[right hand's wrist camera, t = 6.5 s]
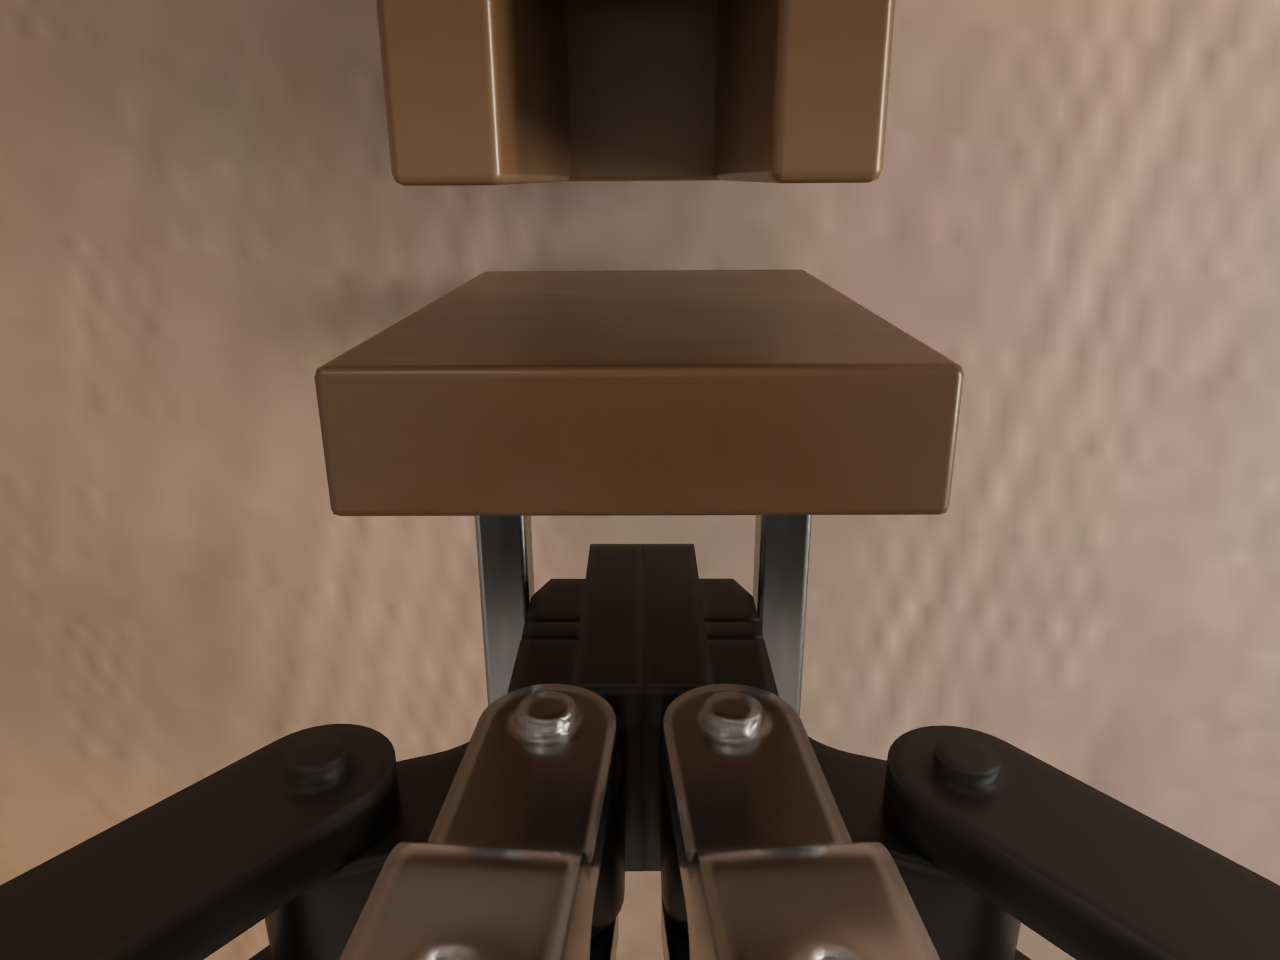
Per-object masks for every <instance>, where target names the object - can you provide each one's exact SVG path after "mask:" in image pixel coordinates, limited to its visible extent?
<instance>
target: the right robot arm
mask: <svg viewBox="0 0 1280 960" xmlns="http://www.w3.org/2000/svg"><path fill="white" fill-rule="evenodd" d="M625 871H661V889H662V914H661V937H662V946H663V954H664V960H1031V959H1029V958H1028V957H1027V956H1025V955H1024V954H1022V953H1021V952H1019V951H1018V950H1017V949H1016V946H1017V940H1018V935H1019V930H1020V925H1021V922H1022V923H1023V924H1025V925H1026V926H1027V927H1029V928H1030V929H1032V930H1033V931H1035V932H1036V933H1038V934H1039V935H1041V936H1042V937H1044V938H1045V939H1047V940H1048V941H1050V942H1051V943H1053V944H1054V945H1056V946H1057V947H1058V948H1060V949H1061V950H1063V951H1064V952H1066V953H1067V954H1069V955H1070V956H1072V957H1073V958H1075V959H1076V960H1280V886H1279V885H1277V884H1275V883H1274V882H1272V881H1270V880H1268V879H1266V878H1264V877H1262V876H1260V875H1258V874H1256V873H1255V872H1253V871H1251V870H1249V869H1247V868H1245V867H1243V866H1241V865H1239V864H1237V863H1235V862H1234V861H1232V860H1230V859H1228V858H1226V857H1224V856H1222V855H1220V854H1218V853H1216V852H1215V851H1213V850H1211V849H1209V848H1207V847H1205V846H1203V845H1201V844H1199V843H1197V842H1195V841H1194V840H1192V839H1190V838H1188V837H1186V836H1184V835H1182V834H1180V833H1178V832H1176V831H1175V830H1173V829H1171V828H1169V827H1167V826H1165V825H1163V824H1161V823H1159V822H1157V821H1156V820H1154V819H1152V818H1150V817H1148V816H1146V815H1144V814H1142V813H1140V812H1138V811H1136V810H1135V809H1133V808H1131V807H1129V806H1127V805H1125V804H1123V803H1121V802H1119V801H1117V800H1116V799H1114V798H1112V797H1110V796H1108V795H1106V794H1104V793H1102V792H1100V791H1098V790H1097V789H1095V788H1093V787H1091V786H1089V785H1087V784H1085V783H1083V782H1081V781H1079V780H1077V779H1076V778H1074V777H1072V776H1070V775H1068V774H1066V773H1064V772H1062V771H1060V770H1058V769H1057V768H1055V767H1053V766H1051V765H1049V764H1047V763H1045V762H1043V761H1041V760H1039V759H1037V758H1036V757H1034V756H1032V755H1030V754H1028V753H1026V752H1024V751H1022V750H1020V749H1018V748H1017V747H1015V746H1013V745H1011V744H1009V743H1007V742H1005V741H1003V740H1001V739H999V738H996V737H994V736H992V735H989V734H986V733H983V732H980V731H976V730H972V729H968V728H962V727H956V726H929V727H922V728H918V729H915V730H911V731H909V732H907V733H905V734H903V735H901V736H900V737H899V738H898V739H896V740H895V741H894V743H893V744H892V745H891V747H890V750H889V752H888V759H887V761H885V760H880V759H876V758H871V757H866V756H861V755H857V754H852V753H848V752H844V751H840V750H837V749H834V748H831V747H828V746H826V745H824V744H821V743H819V742H817V741H815V740H813V739H812V738H810V737H808V736H807V733H806V731H805V729H804V726H803V724H802V721H801V719H800V717H799V715H798V714H797V712H796V711H795V710H794V709H793V707H792V706H791V705H790V704H788V703H787V702H786V701H785V700H783V699H781V698H780V697H779V695H778V691H777V687H776V683H775V679H774V675H773V671H772V668H771V664H770V660H769V656H768V652H767V648H766V645H765V641H764V640H763V633H762V629H761V625H760V622H759V618H758V614H757V610H756V606H755V602H754V598H753V596H752V595H750V594H749V593H748V592H747V591H746V590H745V589H744V588H743V587H741V586H740V585H739V584H738V583H737V582H736V581H735V580H734V579H699V577H698V570H697V563H696V556H695V549H694V544H591V545H590V551H589V558H588V566H587V574H586V579H551V580H550V581H548V582H547V583H546V584H545V585H544V586H543V587H542V588H541V589H540V590H538V591H537V592H536V593H535V594H534V595H533V596H532V597H531V600H530V604H529V608H528V612H527V616H526V622H525V624H524V628H523V632H522V640H520V644H519V648H518V652H517V656H516V660H515V664H514V668H513V672H512V676H511V680H510V684H509V688H508V692H507V694H505V695H503V696H502V697H500V698H498V699H496V700H495V701H494V702H493V703H491V704H490V705H489V706H488V707H487V708H486V709H485V710H484V712H483V713H482V715H481V717H480V718H479V721H478V723H477V725H476V728H475V730H474V732H473V735H472V737H471V740H470V742H467V743H465V744H463V745H461V746H459V747H456V748H453V749H450V750H447V751H444V752H440V753H436V754H431V755H427V756H422V757H417V758H412V759H408V760H403V761H398V762H396V757H395V750H394V748H393V745H392V743H391V742H390V741H389V740H388V738H387V737H385V736H384V735H383V734H381V733H380V732H378V731H376V730H374V729H371V728H368V727H364V726H360V725H353V724H330V725H322V726H316V727H312V728H308V729H304V730H300V731H298V732H295V733H292V734H289V735H287V736H285V737H283V738H281V739H278V740H276V741H275V742H273V743H271V744H269V745H267V746H265V747H263V748H261V749H259V750H257V751H255V752H254V753H252V754H250V755H248V756H246V757H244V758H242V759H240V760H238V761H236V762H235V763H233V764H231V765H229V766H227V767H225V768H223V769H221V770H219V771H217V772H216V773H214V774H212V775H210V776H208V777H206V778H204V779H202V780H200V781H198V782H196V783H195V784H193V785H191V786H189V787H187V788H185V789H183V790H181V791H179V792H177V793H176V794H174V795H172V796H170V797H168V798H166V799H164V800H162V801H160V802H158V803H157V804H155V805H153V806H151V807H149V808H147V809H145V810H143V811H141V812H139V813H137V814H136V815H134V816H132V817H130V818H128V819H126V820H124V821H122V822H120V823H118V824H117V825H115V826H113V827H111V828H109V829H107V830H105V831H103V832H101V833H99V834H98V835H96V836H94V837H92V838H90V839H88V840H86V841H84V842H82V843H80V844H79V845H77V846H75V847H73V848H71V849H69V850H67V851H65V852H63V853H61V854H59V855H58V856H56V857H54V858H52V859H50V860H48V861H46V862H44V863H42V864H40V865H39V866H37V867H35V868H33V869H31V870H29V871H27V872H25V873H23V874H21V875H20V876H18V877H16V878H14V879H12V880H10V881H8V882H6V883H4V884H2V885H0V960H203V959H205V958H206V957H208V956H209V955H211V954H212V953H214V952H215V951H217V950H218V949H220V948H221V947H223V946H224V945H226V944H227V943H229V942H230V941H232V940H233V939H234V938H236V937H237V936H239V935H240V934H242V933H243V932H245V931H246V930H248V929H249V928H251V927H252V926H254V925H255V924H257V923H258V922H260V921H261V920H263V919H264V918H265V922H266V927H267V932H268V938H269V943H270V945H269V946H267V947H266V948H264V949H263V950H262V951H260V952H259V953H257V954H256V955H255V956H253V957H252V958H250V959H249V960H615V959H616V951H617V943H618V913H619V912H620V910H621V907H622V904H623V900H624V888H625Z"/></svg>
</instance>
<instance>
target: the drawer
mask: <svg viewBox="0 0 1280 960" xmlns="http://www.w3.org/2000/svg"><path fill="white" fill-rule="evenodd" d="M376 2H377V13H378V24H379V35H380V46H381V57H382V68H383V79H384V90H385V102H386V113H387V124H388V135H389V146H390V157H391V168H392V175H393V177H394V179H395V181H396V182H397V183H399V184H401V185H404V186H417V185H503V184H522V183H541V182H561V181H671V180H728V181H749V182H771V183H854V182H871V181H873V180H876V179H878V178H879V175H880V173H881V171H882V168H883V155H884V141H885V128H886V115H887V102H888V89H889V76H890V62H891V49H892V36H893V23H894V10H895V0H376ZM963 375H964V374H963V371H962V367H961V366H960V365H958V364H957V363H955V362H953V361H952V360H950V359H949V358H947V357H945V356H944V355H942V354H940V353H939V352H937V351H935V350H934V349H932V348H930V347H929V346H927V345H925V344H924V343H922V342H921V341H919V340H917V339H916V338H914V337H912V336H911V335H909V334H907V333H906V332H904V331H902V330H901V329H899V328H898V327H896V326H894V325H893V324H891V323H889V322H888V321H886V320H884V319H883V318H881V317H879V316H878V315H876V314H874V313H873V312H871V311H870V310H868V309H866V308H865V307H863V306H861V305H860V304H858V303H856V302H855V301H853V300H851V299H850V298H848V297H847V296H845V295H843V294H842V293H840V292H838V291H837V290H835V289H833V288H832V287H830V286H828V285H827V284H825V283H823V282H822V281H820V280H819V279H817V278H815V277H814V276H812V275H810V274H809V273H807V272H805V271H803V270H682V271H506V272H485V273H482V274H481V275H479V276H477V277H475V278H474V279H472V280H470V281H469V282H467V283H465V284H463V285H462V286H460V287H458V288H456V289H455V290H453V291H451V292H449V293H448V294H446V295H444V296H443V297H441V298H439V299H437V300H436V301H434V302H432V303H430V304H429V305H427V306H425V307H423V308H422V309H420V310H418V311H417V312H415V313H413V314H411V315H410V316H408V317H406V318H404V319H403V320H401V321H399V322H397V323H396V324H394V325H392V326H391V327H389V328H387V329H385V330H384V331H382V332H380V333H378V334H377V335H375V336H373V337H372V338H370V339H368V340H366V341H365V342H363V343H361V344H359V345H358V346H356V347H354V348H352V349H351V350H349V351H347V352H346V353H344V354H342V355H340V356H339V357H337V358H335V359H333V360H332V361H330V362H328V363H326V364H325V365H323V366H321V367H320V368H318V369H317V371H316V374H315V384H316V392H317V400H318V408H319V416H320V424H321V432H322V440H323V448H324V456H325V464H326V472H327V480H328V488H329V496H330V504H331V509H332V511H333V513H334V514H336V515H339V516H475V525H476V540H477V554H478V568H479V582H480V597H481V611H482V625H483V639H484V653H485V668H486V682H487V696H488V706H489V705H490V704H491V703H493V702H494V701H495V700H496V699H498V698H500V697H502V696H503V695H505V694H507V692H508V688H509V684H510V680H511V676H512V672H513V668H514V664H515V660H516V656H517V652H518V648H519V644H520V640H522V632H523V628H524V624H525V622H526V616H527V612H528V608H529V604H530V600H531V597H532V596H533V595H534V575H533V555H532V535H531V516H536V515H756V531H755V557H754V584H753V598H754V602H755V606H756V610H757V614H758V618H759V622H760V625H761V629H762V633H763V640H764V641H765V645H766V648H767V652H768V656H769V660H770V664H771V668H772V671H773V675H774V679H775V683H776V687H777V691H778V695H779V697H780V698H781V699H783V700H785V701H786V702H787V703H788V704H790V705H791V706H792V707H793V709H794V710H795V711H796V712H797V714H798V715H799V717H800V703H801V686H802V669H803V652H804V635H805V618H806V601H807V584H808V567H809V550H810V533H811V516H812V515H937V514H942V513H946V511H947V509H948V507H949V501H950V492H951V483H952V474H953V465H954V456H955V447H956V438H957V429H958V420H959V411H960V402H961V393H962V384H963Z"/></svg>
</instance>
